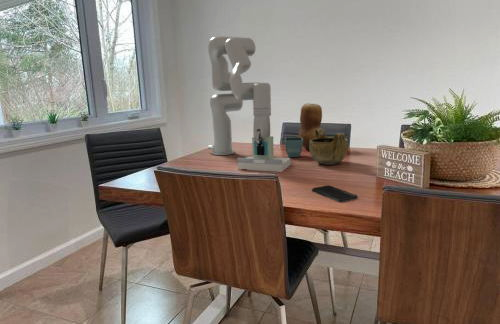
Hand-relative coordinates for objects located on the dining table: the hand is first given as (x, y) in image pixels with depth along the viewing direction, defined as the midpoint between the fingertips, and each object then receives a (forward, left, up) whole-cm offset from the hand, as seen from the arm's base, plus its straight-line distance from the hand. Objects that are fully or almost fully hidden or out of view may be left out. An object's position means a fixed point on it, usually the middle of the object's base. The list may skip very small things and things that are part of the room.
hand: (263, 153), depth 158 cm
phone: (+35, -31, -7) cm, 47 cm away
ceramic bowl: (+26, +14, -7) cm, 31 cm away
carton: (0, 0, -3) cm, 3 cm away
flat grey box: (0, +1, -6) cm, 7 cm away
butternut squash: (+11, +47, -7) cm, 49 cm away
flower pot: (+7, +26, -7) cm, 28 cm away
